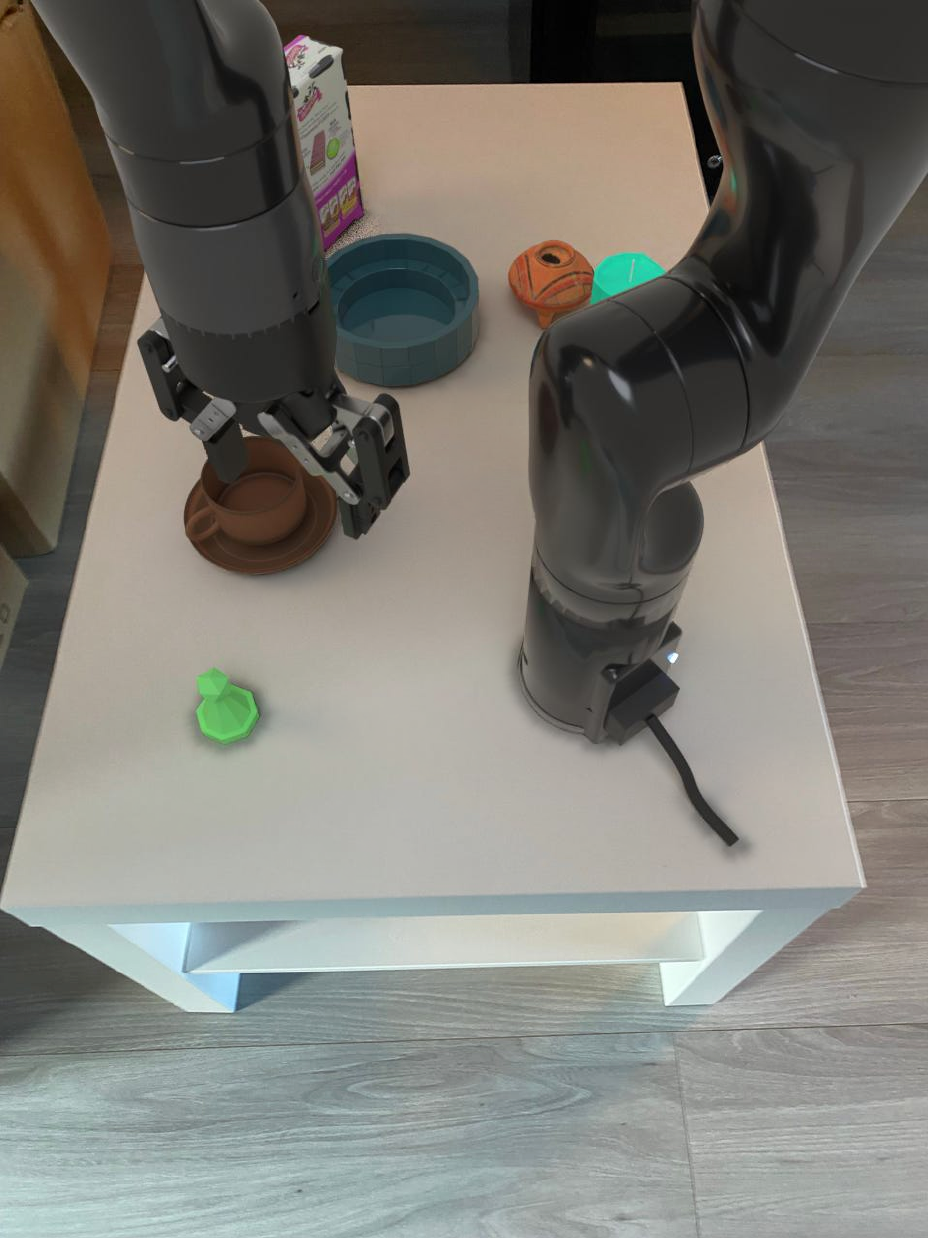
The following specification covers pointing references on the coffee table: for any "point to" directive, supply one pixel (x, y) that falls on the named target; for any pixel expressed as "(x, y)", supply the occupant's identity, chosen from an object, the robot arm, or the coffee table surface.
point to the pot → (551, 279)
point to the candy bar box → (325, 133)
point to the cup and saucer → (260, 512)
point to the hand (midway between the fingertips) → (296, 499)
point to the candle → (622, 274)
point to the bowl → (402, 308)
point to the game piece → (224, 708)
